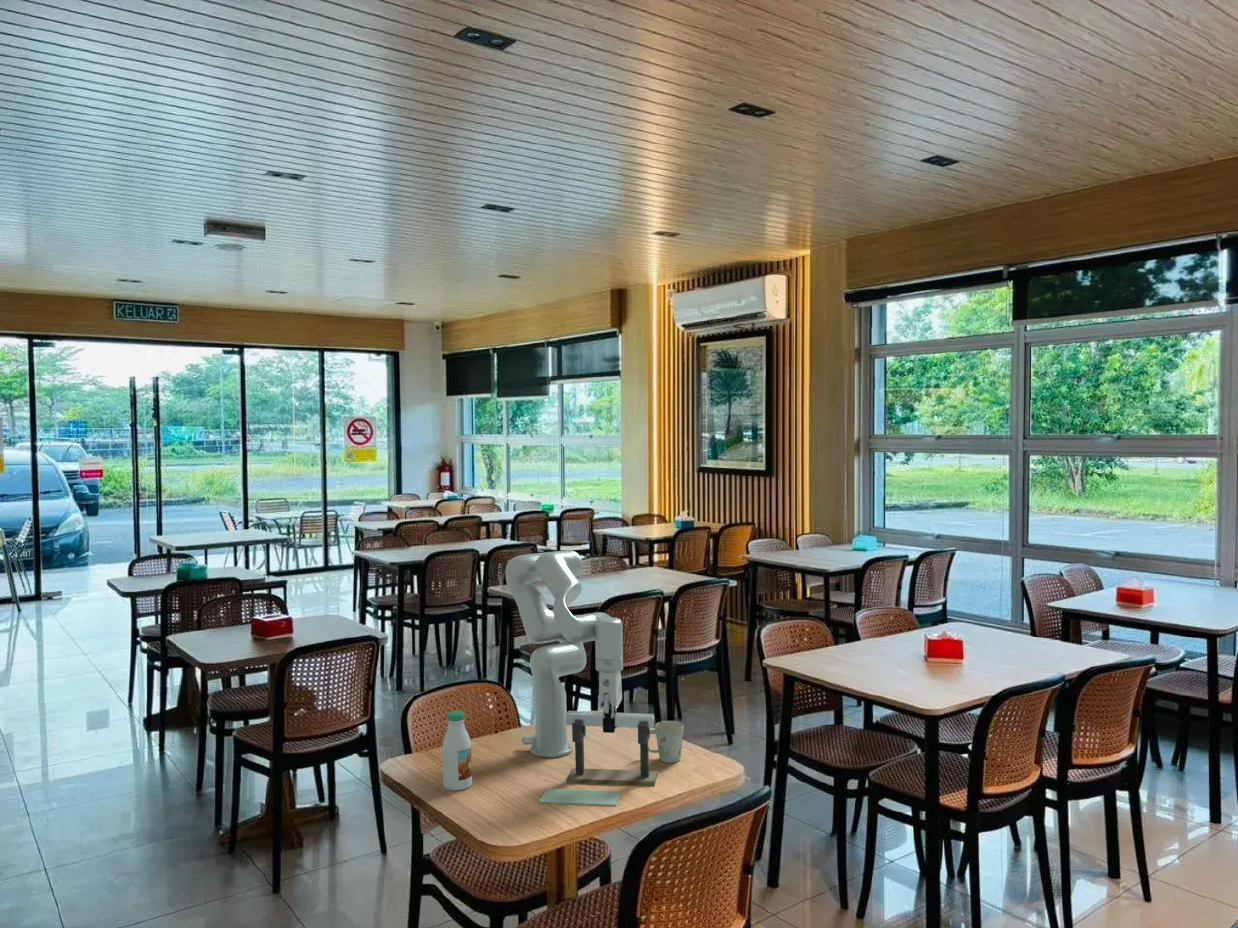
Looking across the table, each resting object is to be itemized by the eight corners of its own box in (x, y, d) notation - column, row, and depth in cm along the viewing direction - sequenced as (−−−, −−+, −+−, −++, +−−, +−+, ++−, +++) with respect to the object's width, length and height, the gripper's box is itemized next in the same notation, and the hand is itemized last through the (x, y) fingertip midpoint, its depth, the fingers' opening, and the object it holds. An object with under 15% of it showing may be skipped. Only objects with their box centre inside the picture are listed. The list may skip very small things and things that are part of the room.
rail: (565, 724, 251) (565, 713, 251) (568, 721, 254) (568, 710, 254) (652, 728, 247) (652, 717, 247) (654, 724, 250) (654, 713, 250)
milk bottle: (448, 793, 243) (446, 718, 243) (439, 784, 250) (437, 711, 250) (476, 787, 247) (474, 714, 246) (467, 778, 254) (465, 707, 253)
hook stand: (566, 782, 249) (564, 724, 248) (572, 772, 257) (571, 715, 256) (654, 785, 245) (652, 726, 245) (657, 775, 253) (656, 717, 252)
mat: (539, 803, 235) (539, 801, 235) (547, 789, 244) (547, 788, 244) (616, 805, 232) (615, 804, 232) (621, 792, 241) (621, 791, 241)
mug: (682, 764, 260) (681, 730, 260) (639, 762, 263) (638, 728, 263) (686, 755, 268) (685, 721, 268) (644, 753, 271) (643, 719, 271)
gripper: (618, 671, 242) (618, 740, 242) (627, 656, 258) (627, 721, 258) (590, 670, 243) (590, 739, 243) (601, 655, 259) (601, 720, 260)
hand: (610, 729), depth 251 cm, fingers closed on rail, 3 cm apart
